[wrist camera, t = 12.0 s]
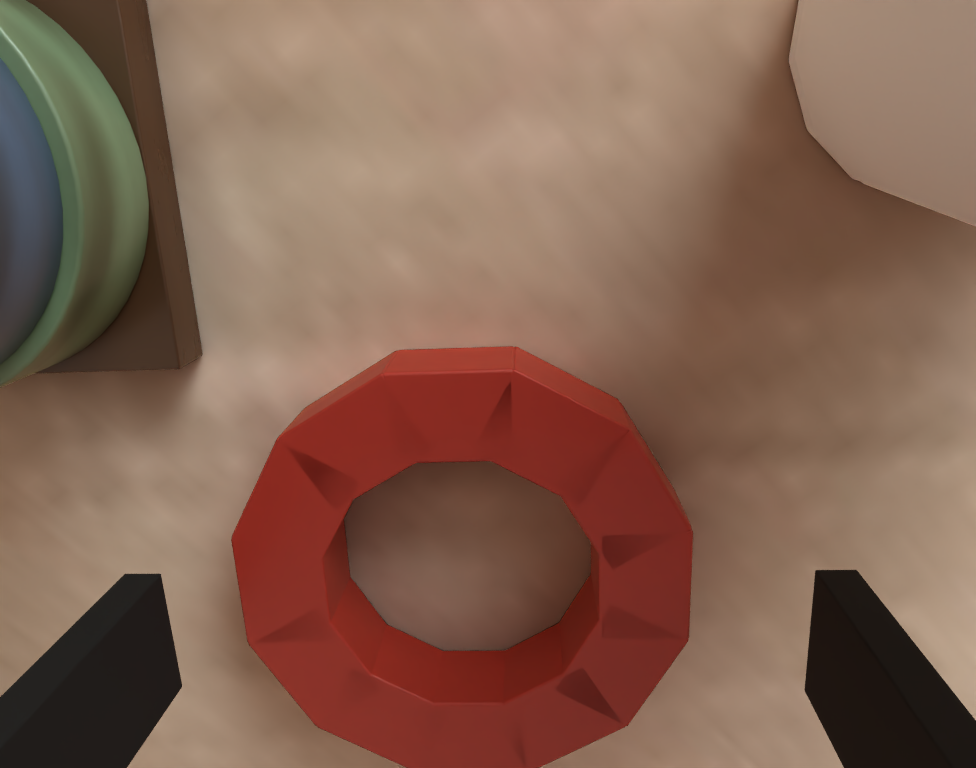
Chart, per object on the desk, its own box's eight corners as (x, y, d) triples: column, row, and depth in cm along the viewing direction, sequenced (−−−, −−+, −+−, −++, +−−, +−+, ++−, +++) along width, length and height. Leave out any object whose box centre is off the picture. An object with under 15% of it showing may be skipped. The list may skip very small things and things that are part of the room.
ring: (679, 340, 16) (700, 363, 14) (668, 713, 19) (684, 774, 17) (240, 354, 17) (204, 378, 15) (292, 714, 20) (267, 773, 18)
